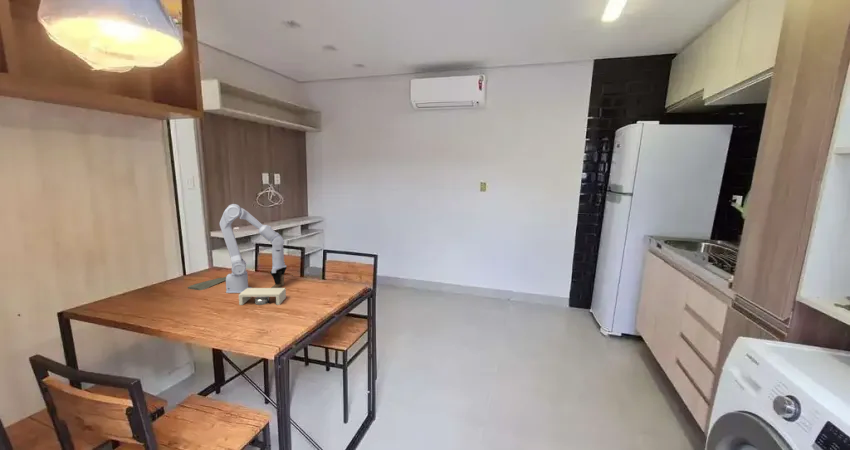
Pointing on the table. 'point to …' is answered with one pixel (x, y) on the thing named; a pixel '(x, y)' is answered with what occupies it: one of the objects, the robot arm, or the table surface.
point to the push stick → (280, 282)
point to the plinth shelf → (263, 294)
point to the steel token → (261, 300)
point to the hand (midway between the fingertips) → (279, 282)
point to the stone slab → (206, 284)
